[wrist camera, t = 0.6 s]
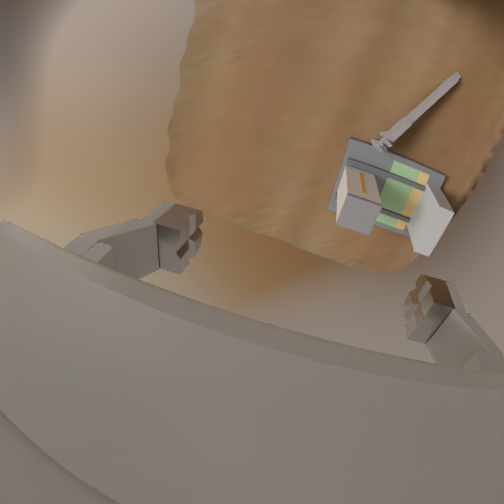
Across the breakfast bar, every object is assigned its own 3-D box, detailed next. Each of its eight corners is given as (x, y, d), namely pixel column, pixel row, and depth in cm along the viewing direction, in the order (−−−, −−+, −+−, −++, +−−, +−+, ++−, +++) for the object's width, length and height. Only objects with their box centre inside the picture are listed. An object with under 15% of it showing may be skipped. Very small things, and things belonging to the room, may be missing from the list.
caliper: (374, 144, 40) (379, 157, 36) (370, 139, 40) (374, 152, 35) (460, 76, 27) (477, 80, 23) (456, 70, 27) (473, 74, 22)
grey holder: (350, 136, 40) (353, 155, 34) (444, 174, 38) (461, 199, 32) (327, 207, 50) (324, 236, 43) (412, 235, 48) (421, 267, 41)
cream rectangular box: (345, 164, 42) (347, 194, 35) (374, 173, 42) (382, 205, 34) (337, 190, 46) (336, 225, 38) (364, 199, 45) (368, 235, 37)
